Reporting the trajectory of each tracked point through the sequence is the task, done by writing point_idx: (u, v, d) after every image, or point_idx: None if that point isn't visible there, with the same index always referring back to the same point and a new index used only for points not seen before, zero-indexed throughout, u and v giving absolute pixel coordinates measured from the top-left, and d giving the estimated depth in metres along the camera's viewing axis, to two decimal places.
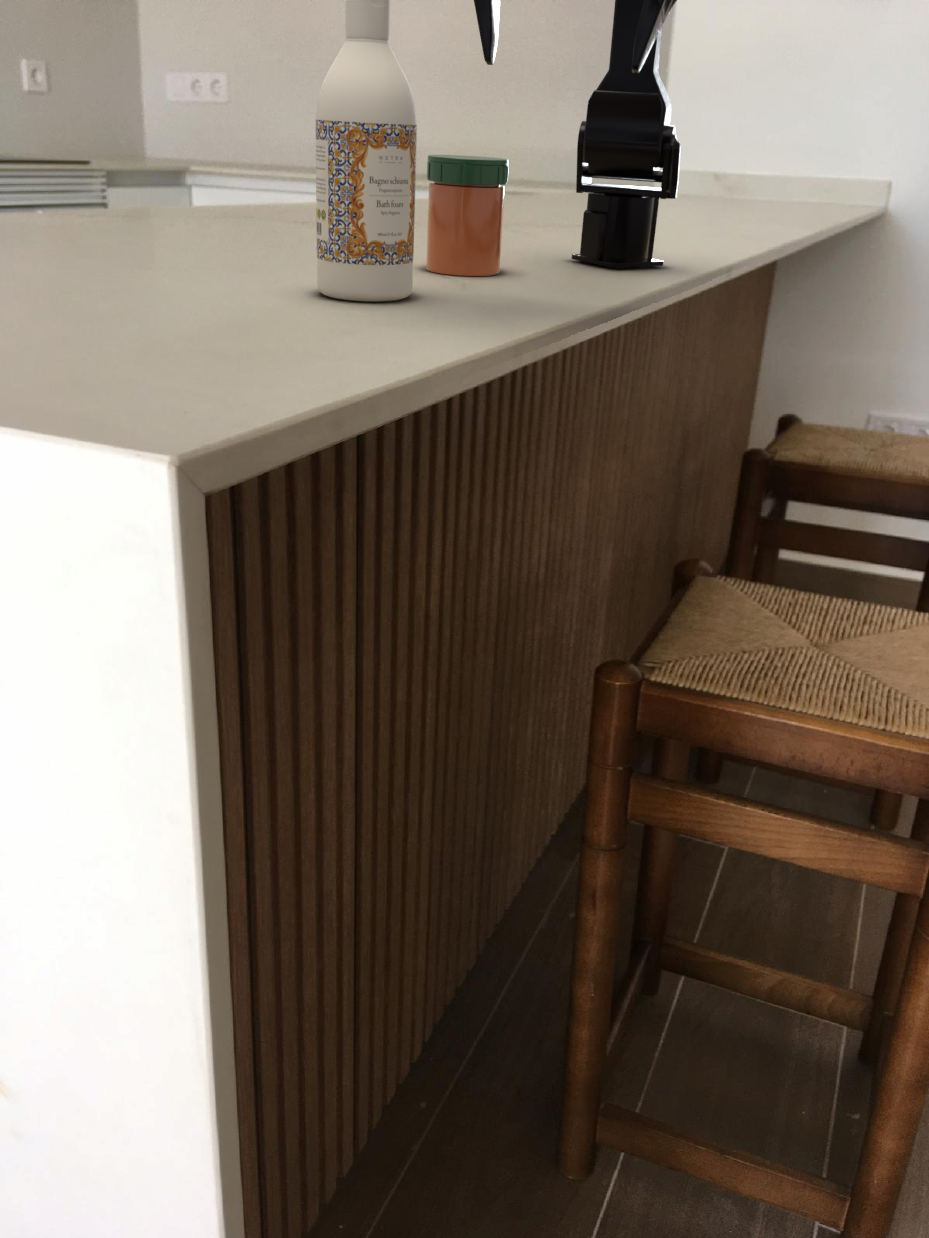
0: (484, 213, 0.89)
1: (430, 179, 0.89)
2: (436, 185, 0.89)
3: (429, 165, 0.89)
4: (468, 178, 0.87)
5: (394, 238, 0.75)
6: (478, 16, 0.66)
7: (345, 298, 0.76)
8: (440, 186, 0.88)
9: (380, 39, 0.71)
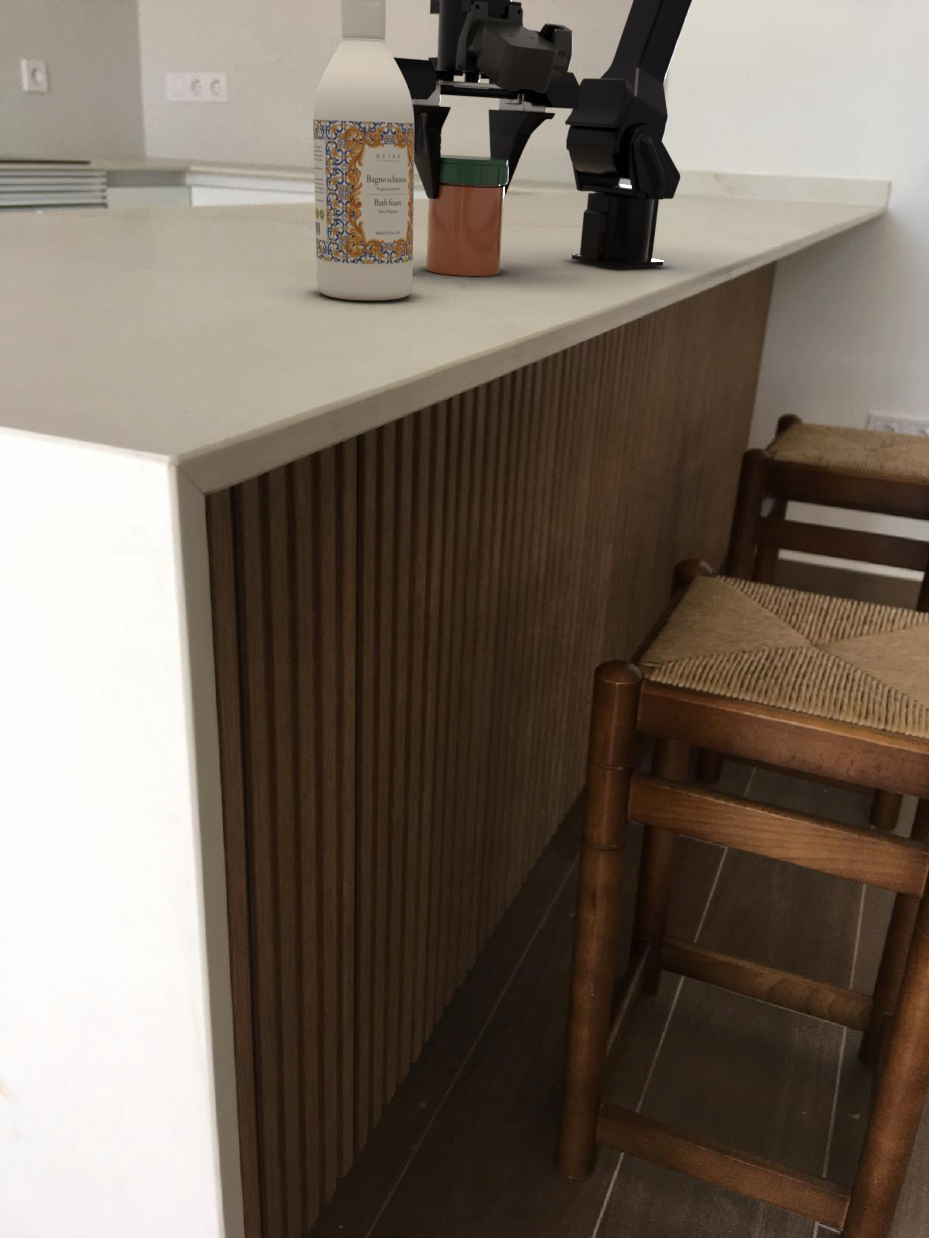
0: (484, 213, 0.89)
1: None
2: None
3: None
4: (468, 178, 0.87)
5: (393, 237, 0.75)
6: (432, 169, 0.87)
7: (344, 297, 0.76)
8: (440, 186, 0.88)
9: (376, 38, 0.71)
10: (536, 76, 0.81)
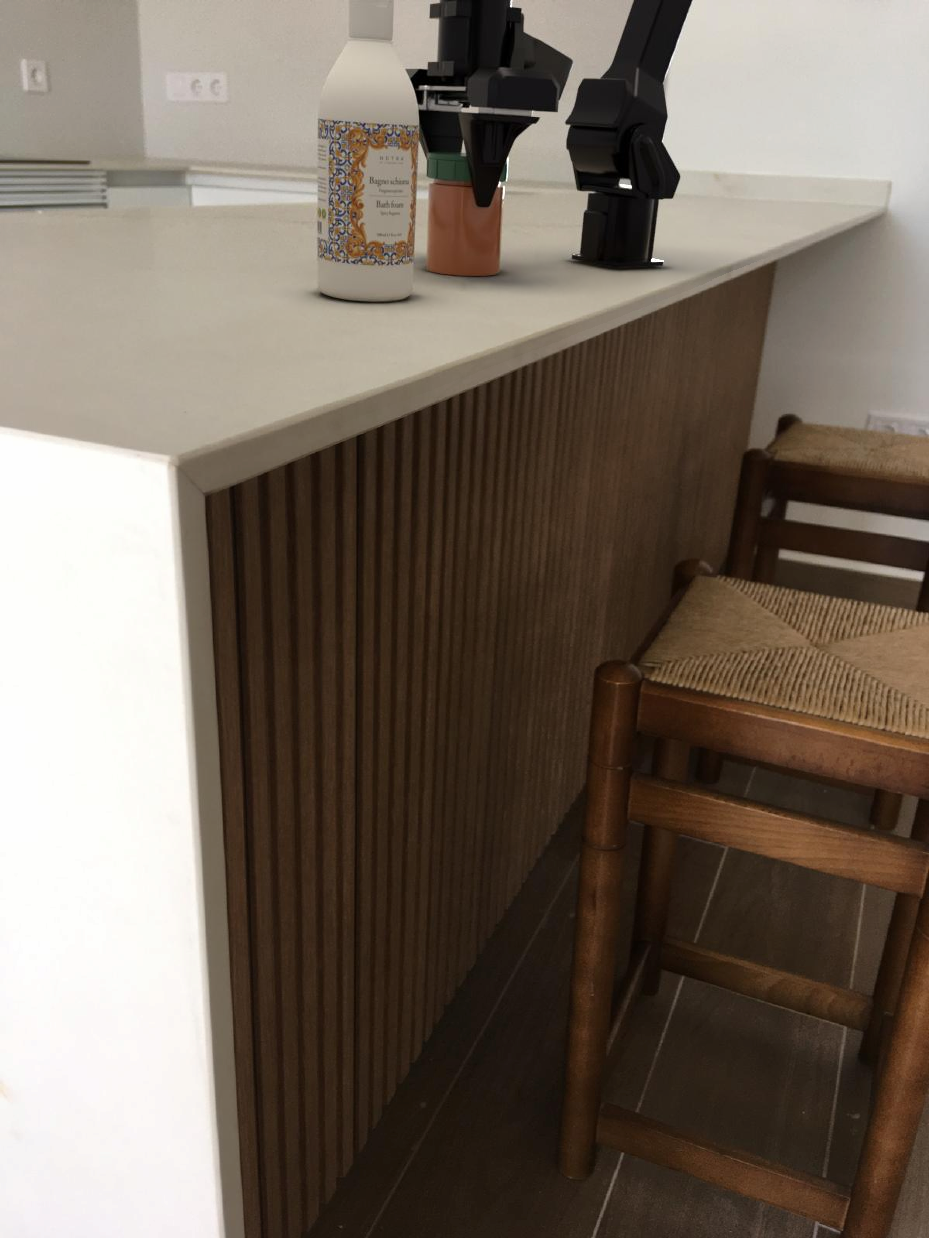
0: (483, 213, 0.89)
1: None
2: (436, 185, 0.89)
3: None
4: None
5: (394, 239, 0.75)
6: (499, 177, 0.87)
7: (344, 297, 0.76)
8: (440, 186, 0.88)
9: (383, 39, 0.71)
10: None
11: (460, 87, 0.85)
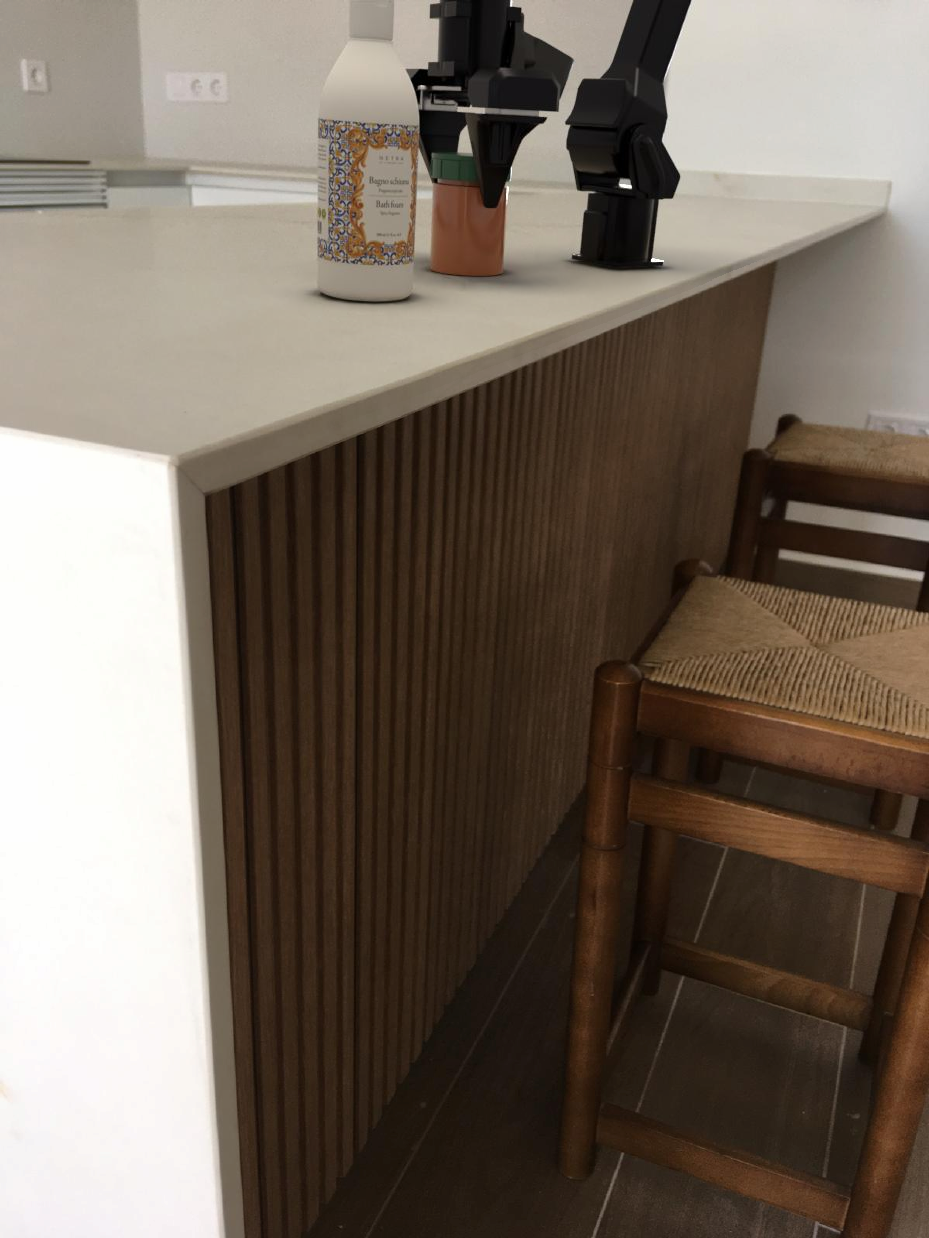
0: (487, 213, 0.89)
1: None
2: (440, 185, 0.89)
3: None
4: None
5: (394, 238, 0.75)
6: (506, 178, 0.86)
7: (344, 297, 0.76)
8: (444, 186, 0.88)
9: (383, 39, 0.71)
10: None
11: (455, 87, 0.86)
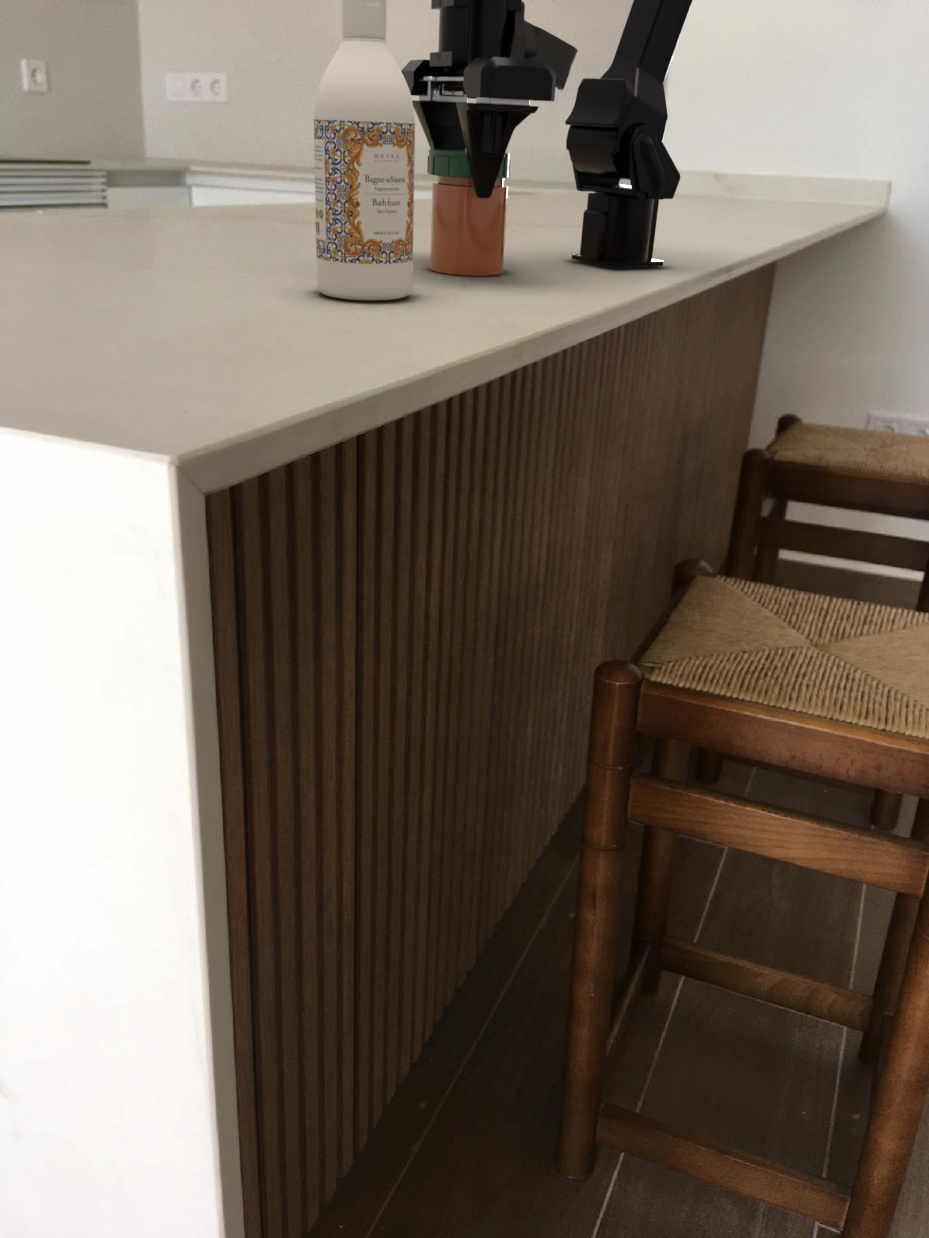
0: (487, 213, 0.89)
1: (507, 176, 0.90)
2: (440, 185, 0.89)
3: (509, 162, 0.90)
4: None
5: (391, 237, 0.75)
6: (499, 167, 0.87)
7: (343, 297, 0.76)
8: (444, 186, 0.88)
9: (376, 38, 0.71)
10: None
11: (459, 77, 0.85)
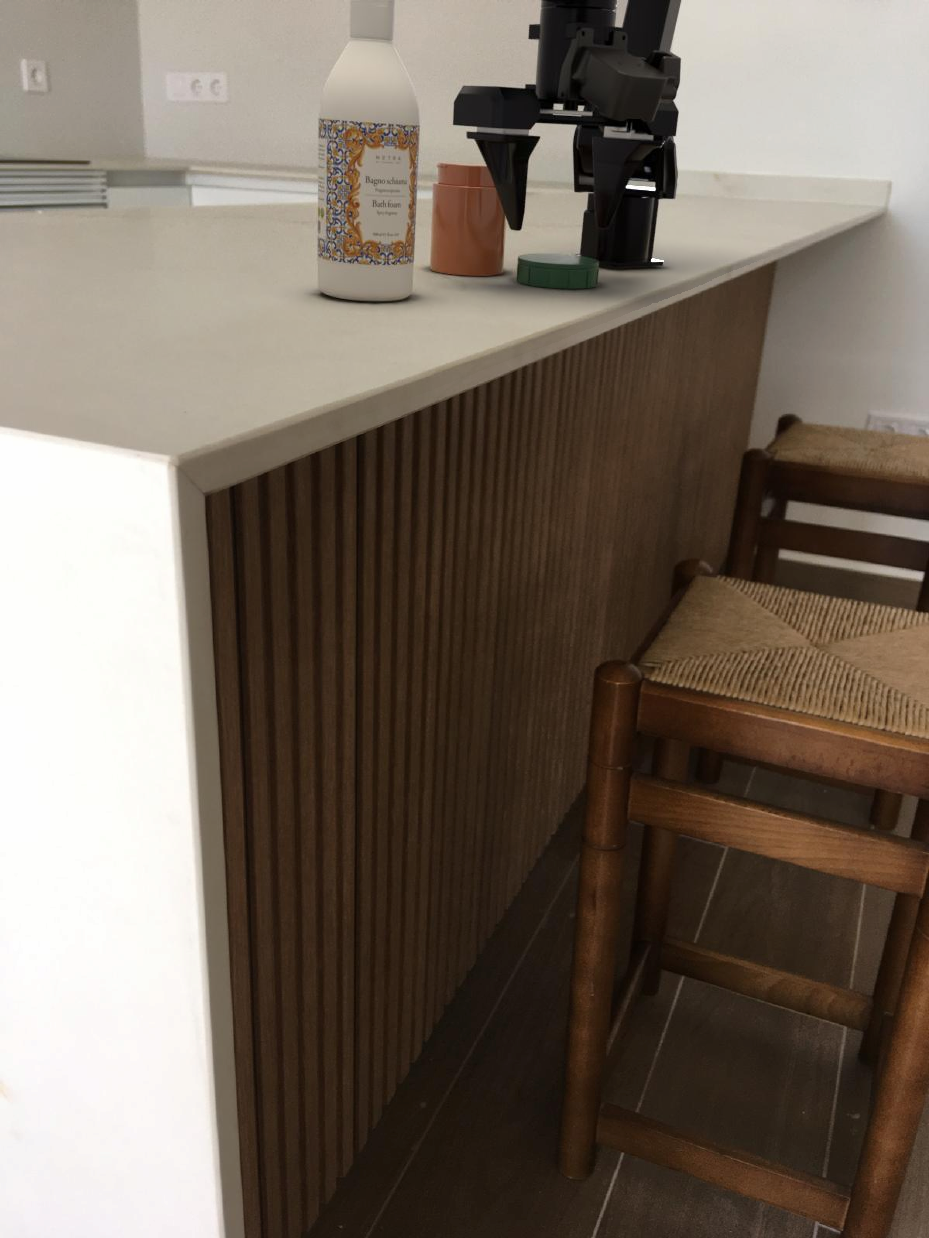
0: (487, 213, 0.89)
1: (571, 287, 0.87)
2: (440, 185, 0.89)
3: (570, 273, 0.86)
4: None
5: (391, 238, 0.74)
6: (517, 199, 0.83)
7: (341, 297, 0.76)
8: (444, 186, 0.88)
9: (382, 39, 0.71)
10: (644, 105, 0.78)
11: None
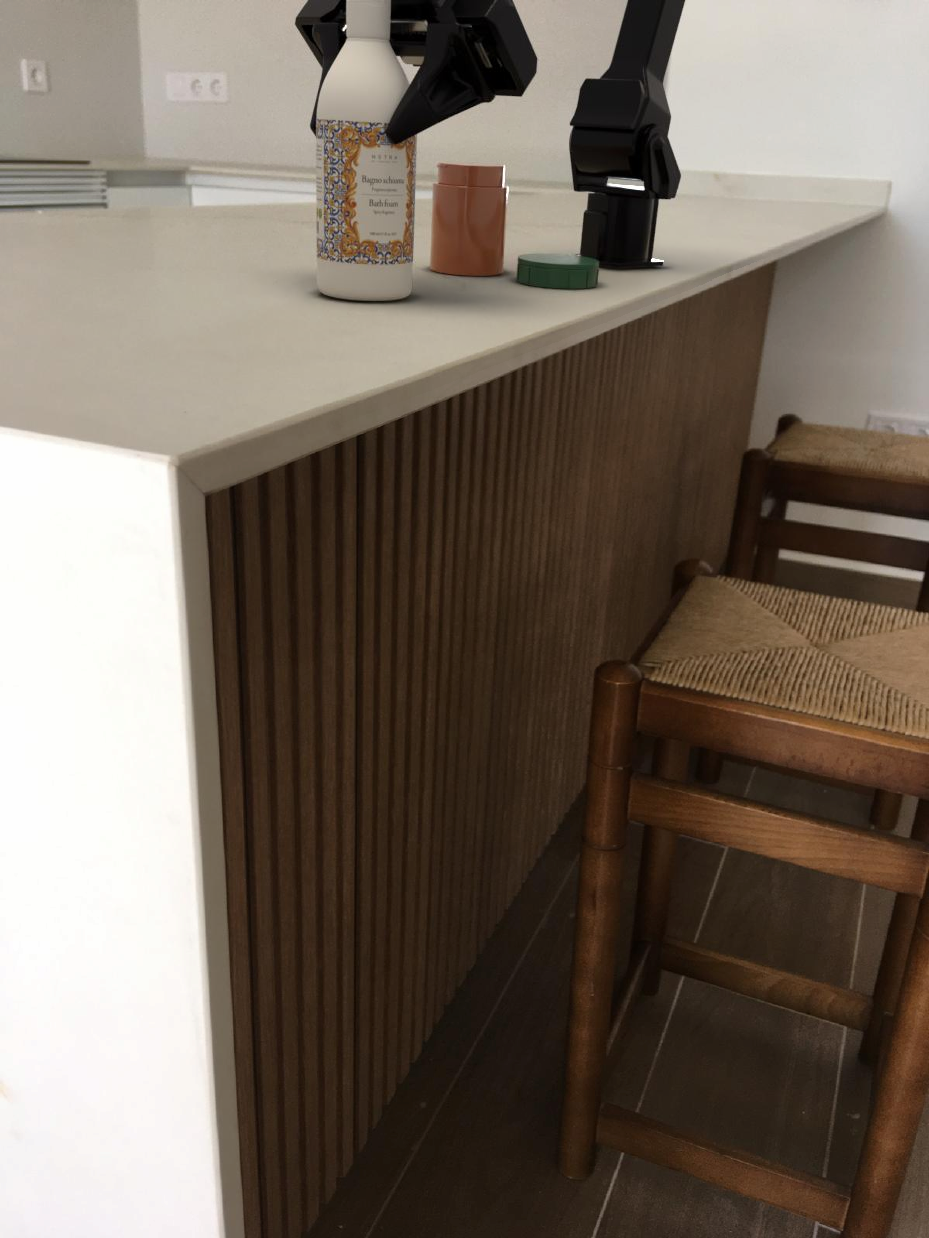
0: (487, 213, 0.89)
1: (571, 287, 0.87)
2: (440, 185, 0.89)
3: (570, 273, 0.86)
4: None
5: (388, 238, 0.74)
6: (317, 96, 0.75)
7: (339, 297, 0.76)
8: (444, 186, 0.88)
9: (378, 38, 0.71)
10: None
11: None
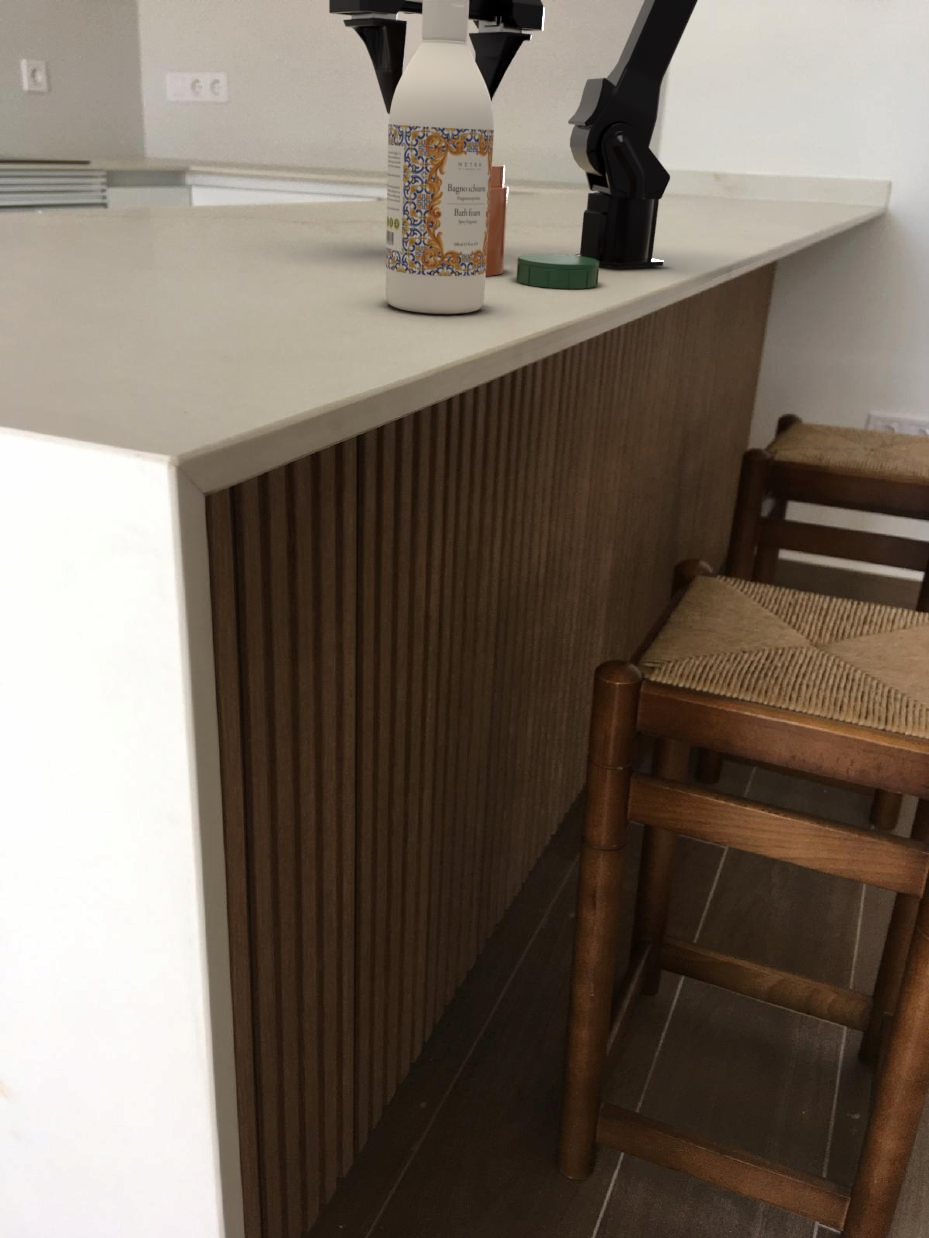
0: None
1: (571, 287, 0.87)
2: None
3: (570, 273, 0.86)
4: None
5: (471, 248, 0.72)
6: None
7: (418, 310, 0.73)
8: None
9: (459, 40, 0.68)
10: None
11: None
